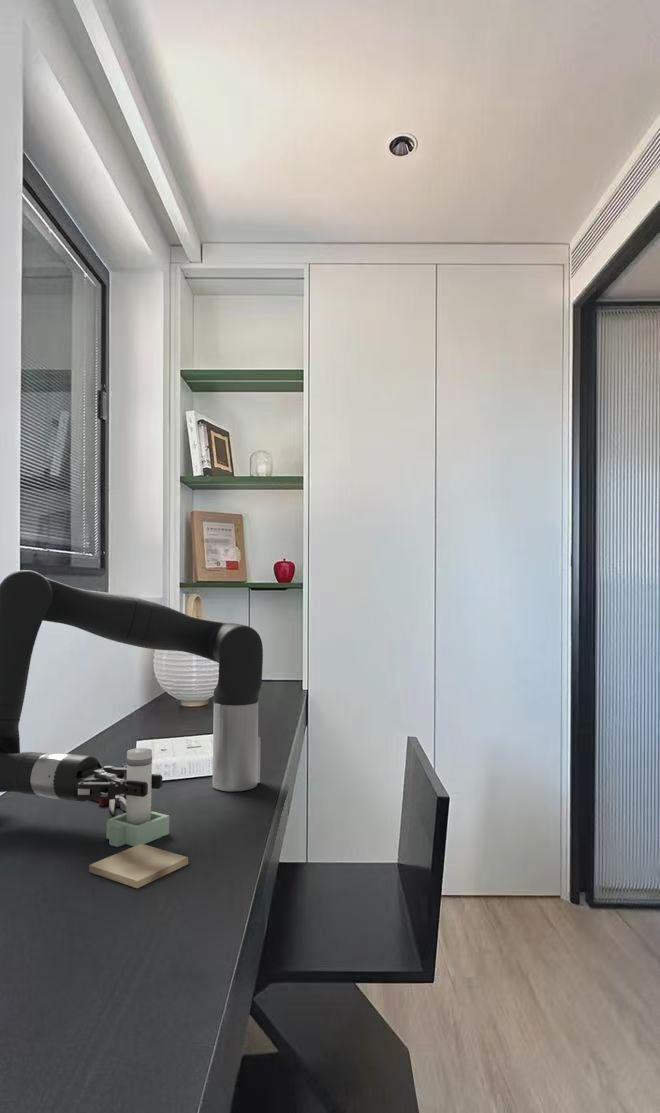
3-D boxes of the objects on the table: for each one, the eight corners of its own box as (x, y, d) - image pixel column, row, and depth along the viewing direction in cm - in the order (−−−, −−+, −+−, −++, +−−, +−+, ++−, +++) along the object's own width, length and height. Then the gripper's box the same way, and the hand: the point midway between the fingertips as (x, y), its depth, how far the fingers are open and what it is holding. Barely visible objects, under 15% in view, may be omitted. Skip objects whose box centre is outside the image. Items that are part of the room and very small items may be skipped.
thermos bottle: (138, 829, 121) (140, 746, 121) (156, 834, 118) (157, 750, 119) (120, 837, 117) (121, 751, 117) (137, 842, 115) (138, 755, 115)
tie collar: (139, 825, 123) (139, 808, 123) (169, 833, 119) (169, 815, 119) (98, 841, 115) (98, 822, 115) (129, 850, 111) (129, 831, 112)
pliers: (87, 823, 125) (87, 808, 125) (77, 791, 143) (77, 778, 143) (153, 815, 130) (153, 800, 130) (135, 785, 148) (135, 773, 148)
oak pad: (141, 849, 112) (141, 843, 112) (188, 864, 106) (188, 857, 106) (89, 872, 103) (89, 865, 103) (137, 888, 98) (137, 881, 98)
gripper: (38, 764, 115) (130, 774, 110) (91, 745, 129) (176, 752, 124) (37, 811, 115) (129, 822, 110) (91, 786, 129) (175, 796, 124)
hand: (153, 785), depth 117 cm, fingers closed on thermos bottle, 4 cm apart
